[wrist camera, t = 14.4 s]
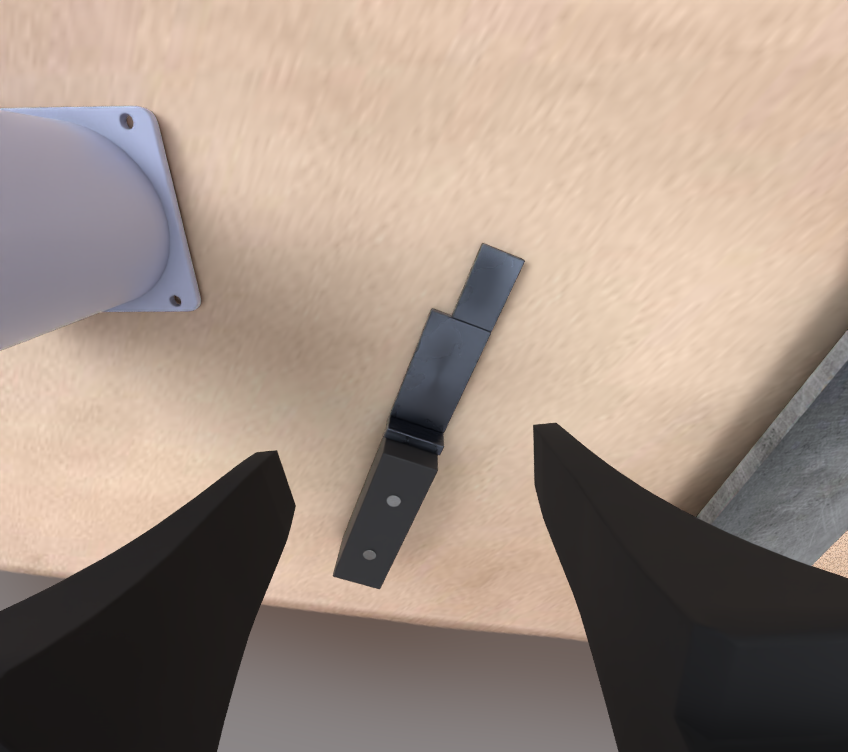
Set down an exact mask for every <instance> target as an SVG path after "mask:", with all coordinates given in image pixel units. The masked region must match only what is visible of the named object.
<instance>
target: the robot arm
mask: <svg viewBox="0 0 848 752" xmlns="http://www.w3.org/2000/svg"><path fill="white" fill-rule="evenodd" d="M129 115H130V116H131V117H132V119H133V121H134V126H133V127H132V129H131V128H129V126H128V124H127V117H128V116H129ZM174 296H177V297H179V298H180V300H181V304H178V303H177V302H176V301H175V299H174ZM200 305H201V297H200V293H199V289H198V285H197V281H196V277H195V273H194V268H193V264H192V260H191V256H190V252H189V248H188V244H187V240H186V236H185V231H184V227H183V223H182V219H181V215H180V211H179V207H178V203H177V199H176V194H175V190H174V186H173V182H172V178H171V174H170V170H169V166H168V162H167V158H166V153H165V149H164V145H163V141H162V137H161V133H160V129H159V125H158V121H157V119H156V116H155V115H154V114H153V113H152V112H151V111H150V110H148V109H147V108H144V107H139V106H101V107H43V108H0V351H1V350H4V349H7V348H9V347H12V346H14V345H17V344H20V343H22V342H25V341H27V340H30V339H33V338H35V337H38V336H40V335H43V334H46V333H48V332H51V331H53V330H56V329H58V328H61V327H64V326H66V325H69V324H71V323H74V322H77V321H79V320H82V319H84V318H87V317H90V316H92V315H95V314H97V313H100V312H180V311H194V310H196V309H197V308H198V307H200ZM533 437H534V481H535V488H536V492H537V496H538V500H539V504H540V508H541V512H542V515H543V519H544V521H545V524H546V527H547V529H548V532H549V534H550V537H551V539H552V542H553V545H554V547H555V550H556V552H557V555H558V557H559V560H560V562H561V565H562V567H563V570H564V572H565V575H566V577H567V580H568V582H569V585H570V587H571V590H572V592H573V595H574V598H575V600H576V603H577V606H578V609H579V612H580V615H581V618H582V622H583V625H584V629H585V632H586V635H587V639H588V642H589V646H590V649H591V652H592V656H593V660H594V663H595V667H596V670H597V674H598V677H599V681H600V685H601V688H602V692H603V695H604V699H605V703H606V706H607V710H608V714H609V718H610V721H611V725H612V729H613V733H614V736H615V740H616V744H617V747H618V751H619V752H848V578H846V577H843V576H840V575H837V574H834V573H831V572H828V571H825V570H822V569H819V568H816V567H813V566H810V565H807V564H804V563H802V562H799V561H796V560H793V559H791V558H788V557H786V556H783V555H781V554H778V553H776V552H773V551H771V550H768V549H766V548H763V547H761V546H758V545H756V544H753V543H751V542H749V541H746V540H744V539H742V538H739V537H737V536H735V535H732V534H730V533H728V532H726V531H724V530H722V529H719V528H717V527H715V526H713V525H711V524H709V523H707V522H705V521H703V520H700V519H698V518H696V517H694V516H692V515H691V514H689V513H687V512H685V511H683V510H681V509H679V508H677V507H675V506H674V505H672V504H670V503H668V502H667V501H665V500H663V499H661V498H659V497H658V496H656V495H654V494H652V493H651V492H649V491H648V490H646V489H644V488H643V487H641V486H639V485H638V484H636V483H635V482H633V481H632V480H630V479H629V478H627V477H626V476H624V475H623V474H621V473H620V472H619V471H617V470H616V469H614V468H613V467H611V466H610V465H609V464H607V463H606V462H605V461H603V460H602V459H601V458H599V457H598V456H597V455H595V454H594V453H593V452H591V451H590V450H589V449H588V448H586V447H585V446H584V445H583V444H582V443H580V442H579V441H578V440H577V439H575V438H574V437H573V436H572V435H571V434H569V433H568V432H567V431H566V430H565V429H563V428H562V427H561V426H560V425H558V424H557V423H548V424H538V425H533ZM295 507H296V505H295V502H294V499H293V496H292V493H291V490H290V488H289V485H288V482H287V479H286V476H285V473H284V470H283V467H282V464H281V461H280V458H279V455H278V452H277V450H275V451H265V452H256V453H255V454H253V455H251V456H250V457H248V458H247V459H246V460H244V461H243V462H241V463H240V464H239V465H237V466H236V467H235V468H233V469H232V470H231V471H229V472H228V473H227V474H225V475H224V476H223V477H221V478H220V479H219V480H218V481H216V482H215V483H214V484H212V485H211V486H210V487H208V488H207V489H206V490H204V491H203V492H202V493H200V494H199V495H198V496H197V497H195V498H194V499H193V500H191V501H190V502H188V503H187V504H186V505H184V506H183V507H181V508H180V509H179V510H177V511H176V512H174V513H173V514H171V515H170V516H169V517H167V518H166V519H164V520H163V521H162V522H160V523H159V524H157V525H156V526H154V527H153V528H151V529H150V530H148V531H147V532H145V533H144V534H142V535H141V536H139V537H138V538H136V539H134V540H133V541H131V542H130V543H128V544H126V545H125V546H123V547H121V548H120V549H118V550H117V551H115V552H113V553H112V554H110V555H108V556H106V557H105V558H103V559H101V560H99V561H98V562H96V563H94V564H92V565H90V566H88V567H87V568H85V569H83V570H81V571H79V572H77V573H76V574H74V575H72V576H70V577H68V578H66V579H65V580H63V581H61V582H59V583H57V584H55V585H53V586H51V587H49V588H47V589H45V590H43V591H41V592H39V593H37V594H35V595H33V596H31V597H29V598H27V599H25V600H23V601H21V602H19V603H17V604H14V605H12V606H10V607H8V608H6V609H4V610H2V611H0V752H217V749H218V745H219V741H220V737H221V733H222V728H223V725H224V720H225V717H226V713H227V710H228V706H229V702H230V698H231V695H232V691H233V688H234V684H235V680H236V677H237V673H238V670H239V667H240V664H241V660H242V657H243V653H244V650H245V647H246V644H247V640H248V637H249V634H250V631H251V628H252V626H253V623H254V620H255V617H256V615H257V613H258V610H259V608H260V605H261V603H262V601H263V598H264V596H265V593H266V591H267V588H268V586H269V584H270V581H271V579H272V576H273V574H274V571H275V569H276V567H277V564H278V562H279V559H280V557H281V554H282V552H283V549H284V547H285V544H286V541H287V539H288V535H289V531H290V528H291V524H292V520H293V515H294V511H295Z"/></svg>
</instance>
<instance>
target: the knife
mask: <svg viewBox="0 0 848 752" xmlns="http://www.w3.org/2000/svg"><path fill="white" fill-rule="evenodd" d="M524 262H525V260H523V259H522V258H519V257H517V256H514V255H512V254H509V253H507V252H504V251H502V250H499V249H497V248H494V247H492V246H489V245H487V244H484V243H482V245H481V247H480V249H479V252H478V254H477V256H476V259H475V261H474V264H473V266H472V268H471V271H470V273H469V276H468V278H467V280H466V283H465V285H464V287H463V290H462V292H461V295H460V297H459V299H458V302H457V304H456V306H455V309H454V311H453V314H452V315H449V314H447V313H444V312H441V311H439V310H436V309H433V308H432V309H431V311H430V314H429V316H428V319H427V321H426V324H425V326H424V329H423V331H422V334H421V337H420V339H419V342H418V344H417V347H416V349H415V352H414V354H413V357H412V359H411V362H410V364H409V367H408V369H407V372H406V374H405V377H404V379H403V382H402V385H401V387H400V390H399V392H398V395H397V397H396V400H395V402H394V405H393V407H392V410H391V413H390V415H389V417H388V420H387V424H386V429H385V433H384V435H383V438H382V440H381V443H380V445H379V448H378V450H377V453H376V455H375V458H374V460H373V463H372V465H371V468H370V470H369V473H368V475H367V478H366V480H365V483H364V485H363V488H362V490H361V493H360V495H359V498H358V500H357V503H356V505H355V508H354V510H353V513H352V515H351V518H350V520H349V523H348V526H347V528H346V531H345V533H344V536H343V538H342V542H341V546H340V550H339V554H338V558H337V561H336V565H335V569H334V573H333V576H334V577H337V578H340V579H344V580H348V581H351V582H355V583H359V584H362V585H366V586H369V587H373V588H377V589H380V588H381V586H382V584H383V582H384V580H385V578H386V576H387V574H388V572H389V570H390V568H391V566H392V564H393V562H394V560H395V557H396V555H397V553H398V551H399V549H400V547H401V545H402V543H403V541H404V539H405V537H406V535H407V533H408V531H409V529H410V527H411V525H412V523H413V521H414V518H415V516H416V514H417V512H418V510H419V508H420V506H421V504H422V502H423V500H424V498H425V496H426V494H427V492H428V490H429V488H430V486H431V484H432V482H433V479H434V477H435V475H436V473H437V471H438V455H440V454H441V452H442V450H443V448H444V436H443V433H444V432H445V430H446V428H447V425H448V423H449V421H450V419H451V417H452V415H453V413H454V411H455V408H456V406H457V404H458V402H459V400H460V398H461V396H462V394H463V391H464V389H465V387H466V385H467V383H468V381H469V379H470V377H471V375H472V372H473V370H474V368H475V366H476V364H477V362H478V360H479V358H480V355H481V353H482V351H483V349H484V347H485V345H486V343H487V341H488V339H489V336H490V334H491V332H492V330H493V328H494V326H495V324H496V322H497V319H498V317H499V315H500V313H501V311H502V309H503V307H504V305H505V303H506V300H507V298H508V296H509V294H510V292H511V290H512V288H513V286H514V283H515V281H516V279H517V277H518V275H519V273H520V271H521V269H522V266H523V264H524Z"/></svg>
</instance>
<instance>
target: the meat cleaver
mask: <svg viewBox="0 0 848 752" xmlns="http://www.w3.org/2000/svg"><path fill="white" fill-rule="evenodd" d="M696 518H698V519H700V520H703V521H705V522H707V523H709V524H711V525H713V526H715V527H717V528H719V529H722V530H724V531H726V532H728V533H730V534H732V535H735V536H737V537H739V538H742V539H744V540H746V541H749V542H751V543H753V544H756V545H758V546H761V547H763V548H766V549H768V550H771V551H773V552H776V553H778V554H781V555H783V556H786V557H788V558H791V559H793V560H796V561H799V562H802V563H804V564H807V565H810V566H812V565H813V564H814V563H815V562H816V561H817V560H818V559H819V558H820V557H821V556H822V555H823V554H824V553H825V552H826V551H827V550H828V549H829V548H830V547H831V546H832V545H833V544H834V543H835V542H836V541H837V540H838V539H839V538H840V537H841V536H842V535H843V534H844V533H845V532H846V531H847V530H848V330H847V331H846V332H845V333H844V335H843V336H842V337H841V338H840V340H839V341H838V342H837V343H836V345H835V346H834V347H833V348H832V349H831V351H830V352H829V353H828V354H827V356H826V357H825V358H824V359H823V361H822V362H821V363H820V364H819V366H818V367H817V368H816V369H815V371H814V372H813V373H812V374H811V375H810V377H809V378H808V379H807V380H806V382H805V383H804V384H803V385H802V387H801V388H800V389H799V390H798V392H797V393H796V394H795V395H794V397H793V398H792V399H791V400H790V401H789V403H788V404H787V405H786V406H785V408H784V409H783V410H782V411H781V413H780V414H779V415H778V416H777V418H776V419H775V420H774V421H773V423H772V424H771V425H770V426H769V427H768V429H767V430H766V431H765V432H764V434H763V435H762V436H761V437H760V439H759V440H758V441H757V442H756V444H755V445H754V446H753V447H752V449H751V450H750V451H749V452H748V453H747V455H746V456H745V457H744V458H743V460H742V461H741V462H740V463H739V465H738V466H737V467H736V468H735V470H734V471H733V472H732V473H731V475H730V476H729V477H728V478H727V479H726V481H725V482H724V483H723V484H722V486H721V487H720V488H719V489H718V491H717V492H716V493H715V494H714V496H713V497H712V498H711V499H710V501H709V502H708V503H707V504H706V505H705V507H704V508H703V509H702V510H701V512H700V513H699V514H698V515H697V517H696Z"/></svg>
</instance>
